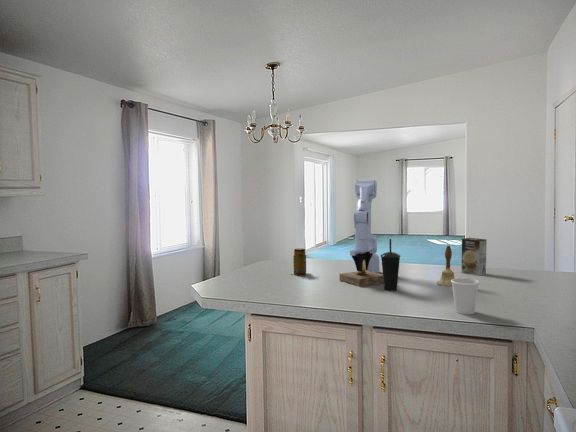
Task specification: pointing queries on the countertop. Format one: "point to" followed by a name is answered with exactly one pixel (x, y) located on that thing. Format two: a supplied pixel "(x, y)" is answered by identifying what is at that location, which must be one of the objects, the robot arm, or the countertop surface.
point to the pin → (363, 269)
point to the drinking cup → (390, 269)
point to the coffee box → (474, 256)
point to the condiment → (299, 262)
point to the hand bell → (447, 270)
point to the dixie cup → (465, 295)
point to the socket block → (361, 278)
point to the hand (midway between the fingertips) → (362, 270)
